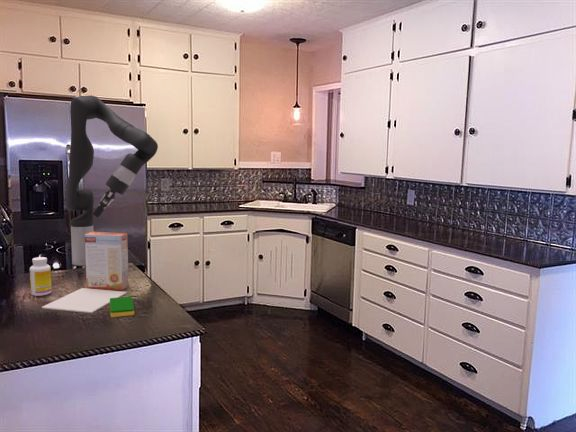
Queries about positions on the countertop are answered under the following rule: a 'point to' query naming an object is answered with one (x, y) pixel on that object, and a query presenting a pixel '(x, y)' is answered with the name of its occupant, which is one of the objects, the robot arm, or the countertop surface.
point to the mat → (84, 300)
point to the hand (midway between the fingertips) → (96, 215)
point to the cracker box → (106, 260)
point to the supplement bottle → (40, 277)
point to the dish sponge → (121, 306)
